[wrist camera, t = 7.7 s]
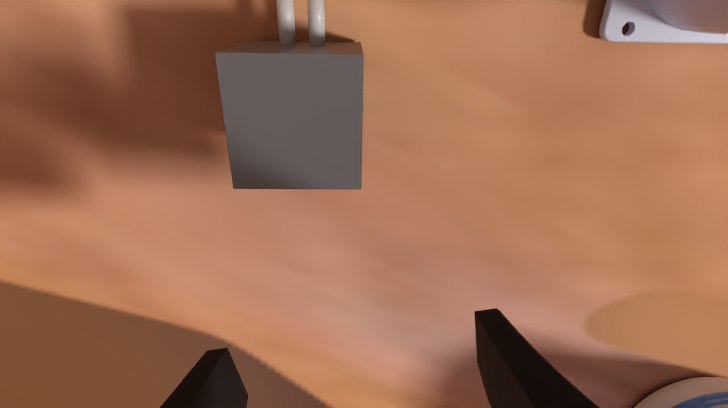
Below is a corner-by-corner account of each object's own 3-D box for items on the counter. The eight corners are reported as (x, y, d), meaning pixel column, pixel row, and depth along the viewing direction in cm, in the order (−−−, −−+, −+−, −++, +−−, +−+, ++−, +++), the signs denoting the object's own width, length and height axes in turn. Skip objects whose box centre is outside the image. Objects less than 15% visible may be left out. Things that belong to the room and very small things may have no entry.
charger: (247, -16, 15) (203, -27, 11) (361, -14, 15) (364, -23, 11) (263, 144, 18) (233, 188, 14) (359, 145, 18) (361, 189, 14)
